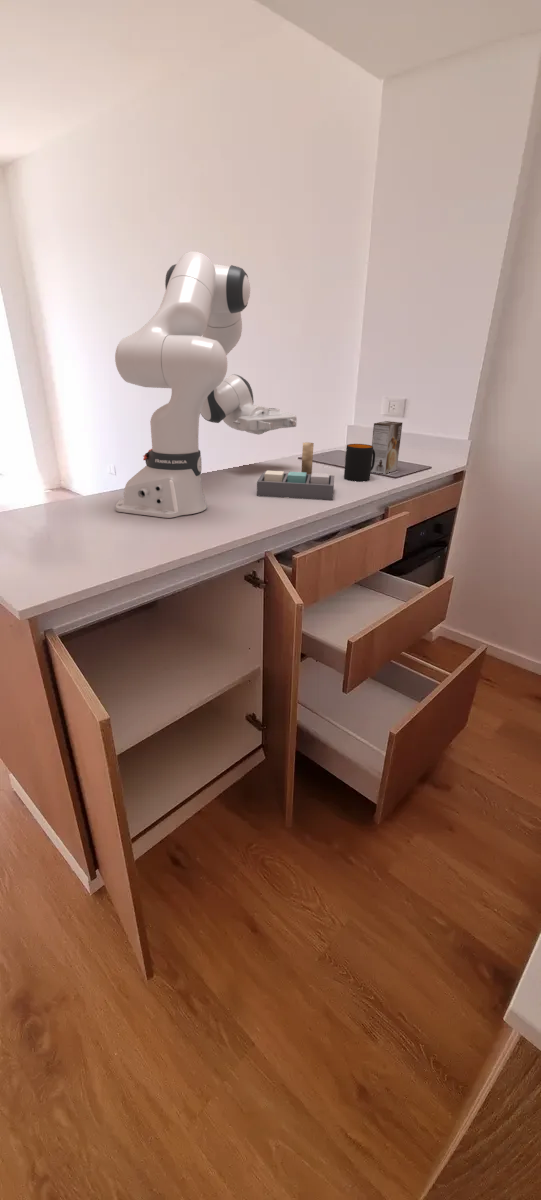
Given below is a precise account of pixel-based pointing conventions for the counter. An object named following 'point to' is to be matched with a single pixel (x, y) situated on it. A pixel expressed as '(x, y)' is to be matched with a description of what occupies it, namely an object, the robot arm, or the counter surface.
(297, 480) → the key teal
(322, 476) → the key grey
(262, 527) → the counter surface
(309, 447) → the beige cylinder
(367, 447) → the mug
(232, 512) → the counter surface
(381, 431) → the coffee box
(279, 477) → the key cream
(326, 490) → the gray divided sorting tray
